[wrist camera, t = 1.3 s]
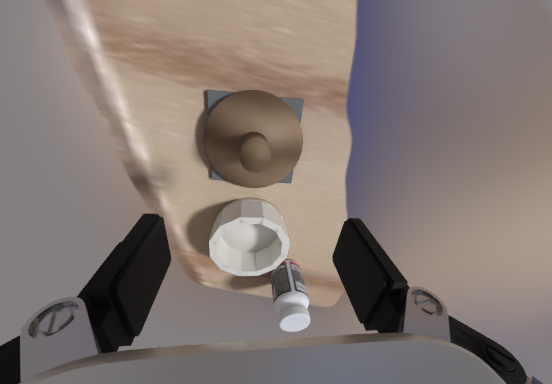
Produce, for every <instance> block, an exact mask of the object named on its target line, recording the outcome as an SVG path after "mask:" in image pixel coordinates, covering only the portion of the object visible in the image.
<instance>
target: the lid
mask: <svg viewBox="0 0 552 384" xmlns="http://www.w3.org/2000/svg"><path fill="white" fill-rule="evenodd" d="M204 144H205V149H206V153H207V156H208V158H209V160H210V162H211V164H212V166H213V167H214V168H215V169H216V171H217V172H218V173H219V174H220V175H221V176H223V177H224V178H225V179H227V180H228V181H230V182H232V183H234V184H236V185H239V186H243V187H248V188H261V187H266V186H270V185H273V184H275V183H277V182H279V181H281V180H282V179H283V178H285V177H286V176H287V175H288V174H289V173H290V172H291V171H292V170H293V168H294V167H295V166H296V164H297V162H298V160H299V157H300V155H301V151H302V144H303V136H302V129H301V126H300V123H299V121H298V118H297V117H296V115H295V113H294V112H293V110H292V109H291V108H290V107H289V106H288V105H287V104H286V103H285V102H284V101H282V100H281V99H279V98H278V97H276V96H274V95H272V94H270V93H267V92H264V91H258V90H246V91H241V92H237V93H235V94H232V95H230V96H229V97H227V98H225V99H224V100H223V101H221V102H220V103H219V104H218V105H217V106H216V107H215V108H214V110H213V111H212V113H211V114H210V116H209V118H208V121H207V123H206V127H205V132H204Z"/></svg>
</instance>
